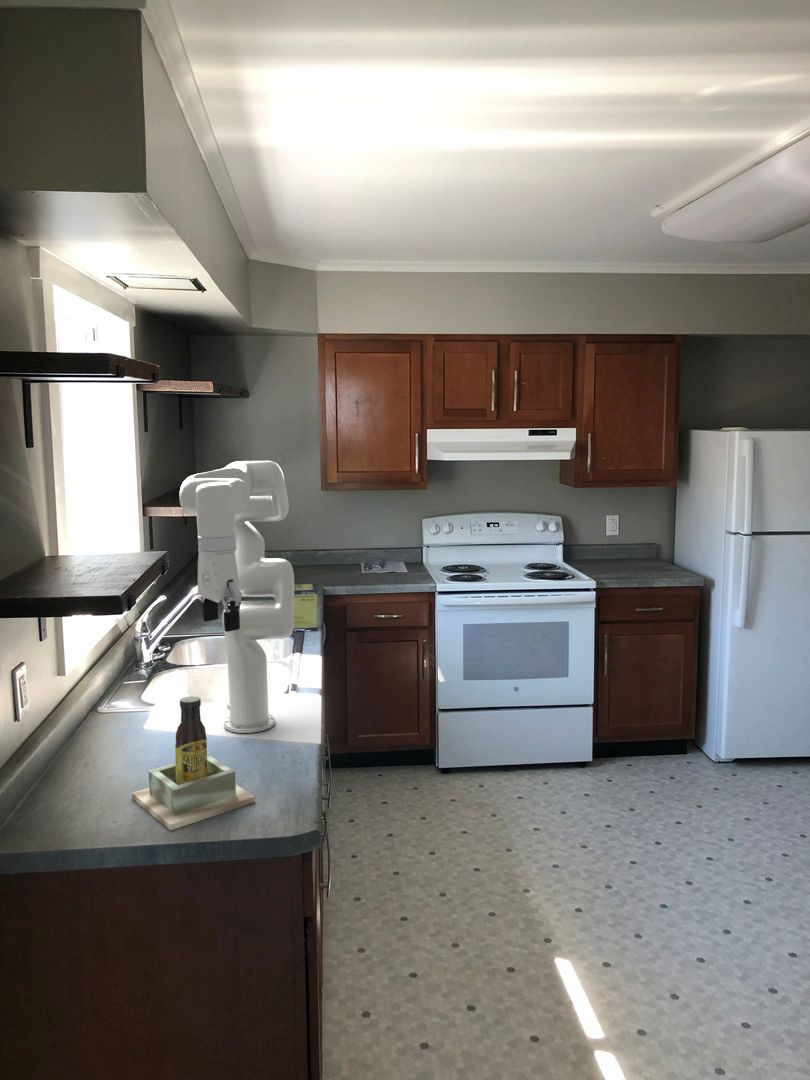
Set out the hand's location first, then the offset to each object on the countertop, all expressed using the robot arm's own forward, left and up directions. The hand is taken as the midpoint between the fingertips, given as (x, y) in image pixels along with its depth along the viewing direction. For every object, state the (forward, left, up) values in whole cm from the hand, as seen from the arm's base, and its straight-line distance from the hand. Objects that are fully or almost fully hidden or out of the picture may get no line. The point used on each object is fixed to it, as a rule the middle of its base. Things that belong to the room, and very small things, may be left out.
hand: (221, 625), depth 176 cm
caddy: (+3, -10, -34) cm, 36 cm away
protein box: (-102, +82, -34) cm, 135 cm away
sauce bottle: (+3, -10, -33) cm, 35 cm away
